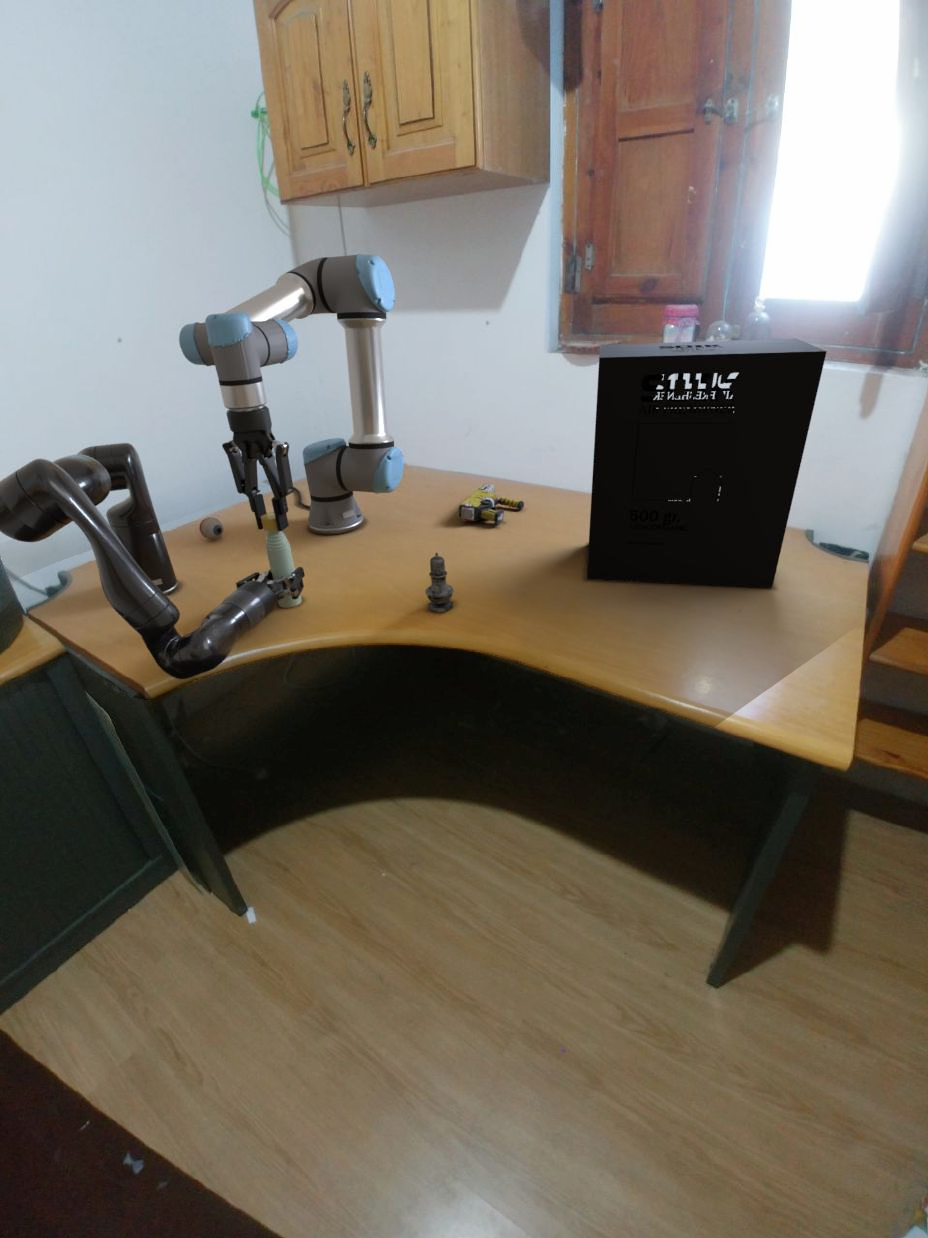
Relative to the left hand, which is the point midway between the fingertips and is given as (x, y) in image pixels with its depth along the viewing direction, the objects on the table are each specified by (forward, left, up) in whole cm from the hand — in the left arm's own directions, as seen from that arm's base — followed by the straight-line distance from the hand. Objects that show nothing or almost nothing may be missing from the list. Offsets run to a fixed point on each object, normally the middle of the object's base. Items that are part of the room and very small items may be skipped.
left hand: (290, 570), depth 129 cm
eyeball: (-40, +27, -6) cm, 48 cm away
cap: (0, -3, +13) cm, 13 cm away
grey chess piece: (+33, +1, -6) cm, 34 cm away
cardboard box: (+80, +29, -6) cm, 85 cm away
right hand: (0, -3, +11) cm, 11 cm away
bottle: (0, -3, -6) cm, 7 cm away
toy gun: (+32, +58, -6) cm, 67 cm away
